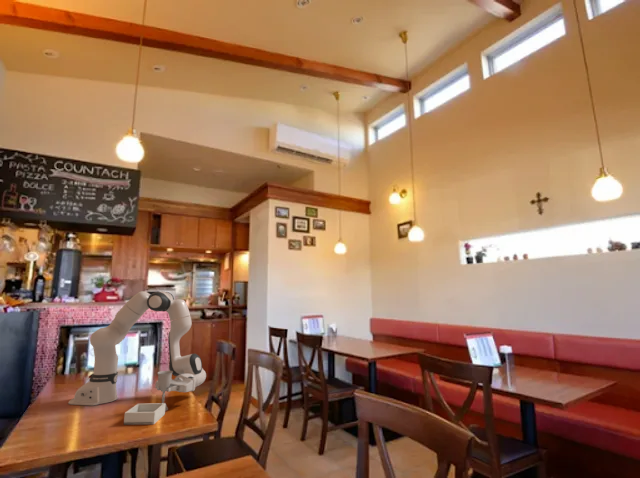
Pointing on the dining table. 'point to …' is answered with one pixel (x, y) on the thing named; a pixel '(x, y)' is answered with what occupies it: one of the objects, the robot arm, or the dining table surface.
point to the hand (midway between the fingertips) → (162, 389)
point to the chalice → (164, 383)
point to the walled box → (144, 414)
